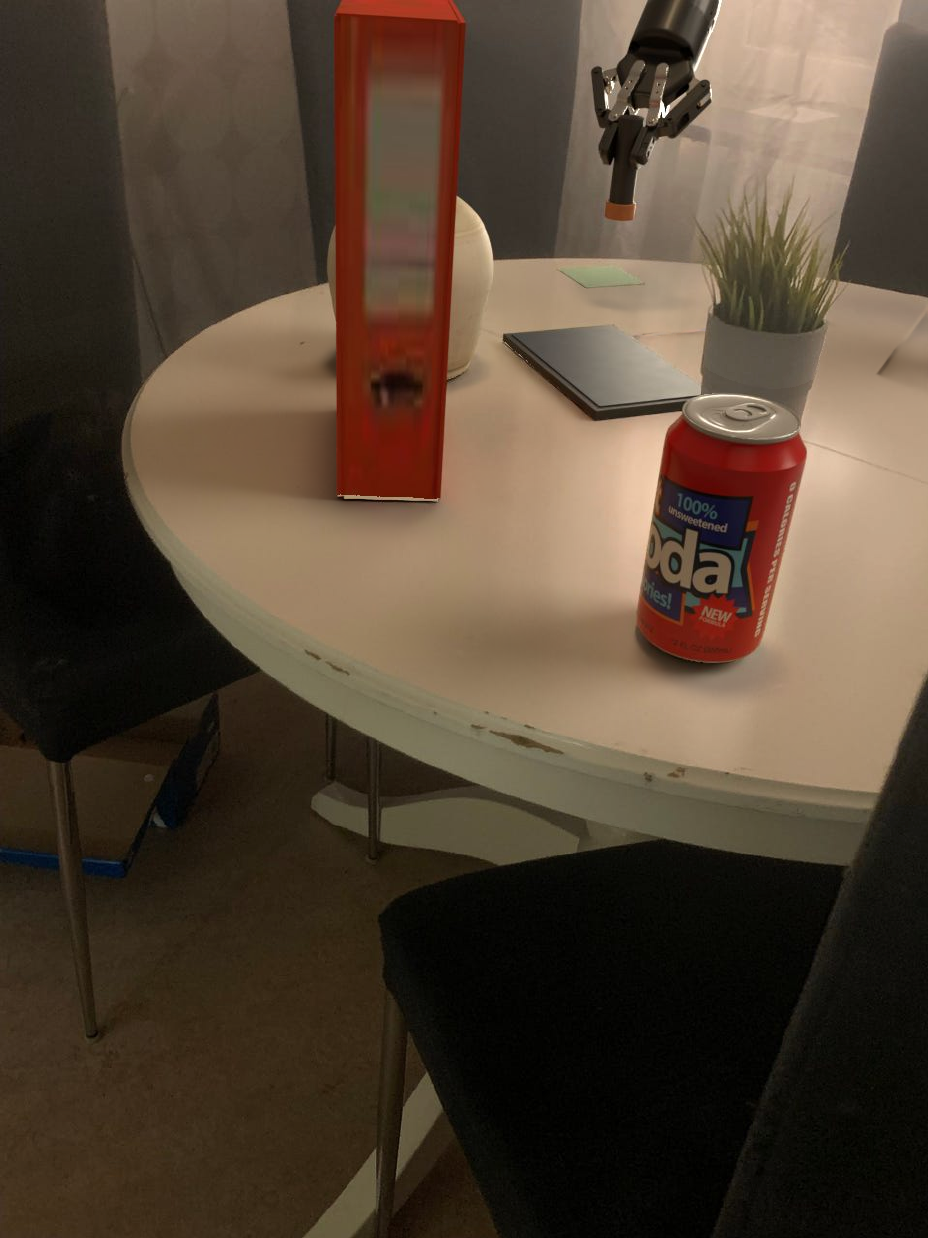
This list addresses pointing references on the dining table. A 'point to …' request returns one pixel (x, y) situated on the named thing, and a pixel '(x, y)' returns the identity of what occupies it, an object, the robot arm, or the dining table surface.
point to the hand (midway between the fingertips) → (619, 161)
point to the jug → (456, 285)
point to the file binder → (394, 238)
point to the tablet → (605, 370)
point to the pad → (600, 276)
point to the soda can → (720, 526)
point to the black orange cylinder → (623, 171)
